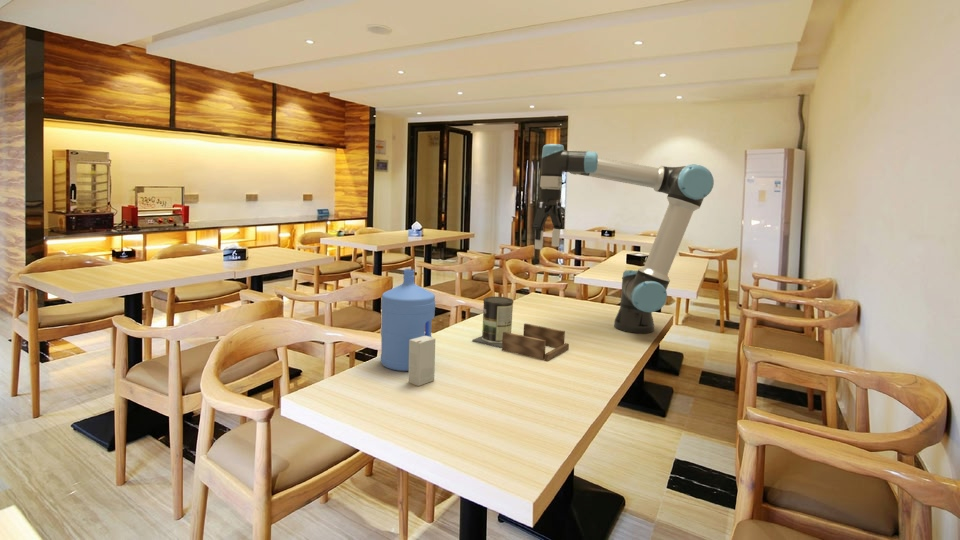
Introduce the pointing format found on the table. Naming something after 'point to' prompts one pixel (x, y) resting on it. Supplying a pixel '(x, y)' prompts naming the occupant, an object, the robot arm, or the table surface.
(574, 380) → the table surface
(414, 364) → the skincare box
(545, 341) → the holder
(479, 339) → the mat
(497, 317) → the coffee can
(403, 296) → the water jug
